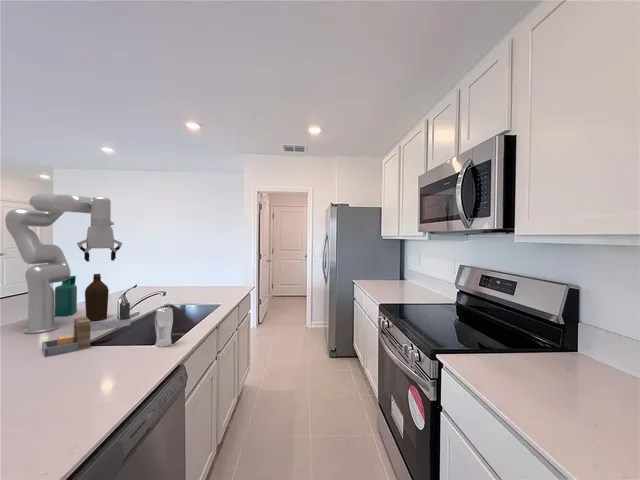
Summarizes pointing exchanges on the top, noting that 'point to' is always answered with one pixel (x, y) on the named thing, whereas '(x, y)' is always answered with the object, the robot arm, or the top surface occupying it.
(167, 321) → the beer glass
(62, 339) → the spacer block
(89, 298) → the olive oil
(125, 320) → the grey piece
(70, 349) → the tray
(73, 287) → the teal green bottle
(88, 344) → the brown wooden block
